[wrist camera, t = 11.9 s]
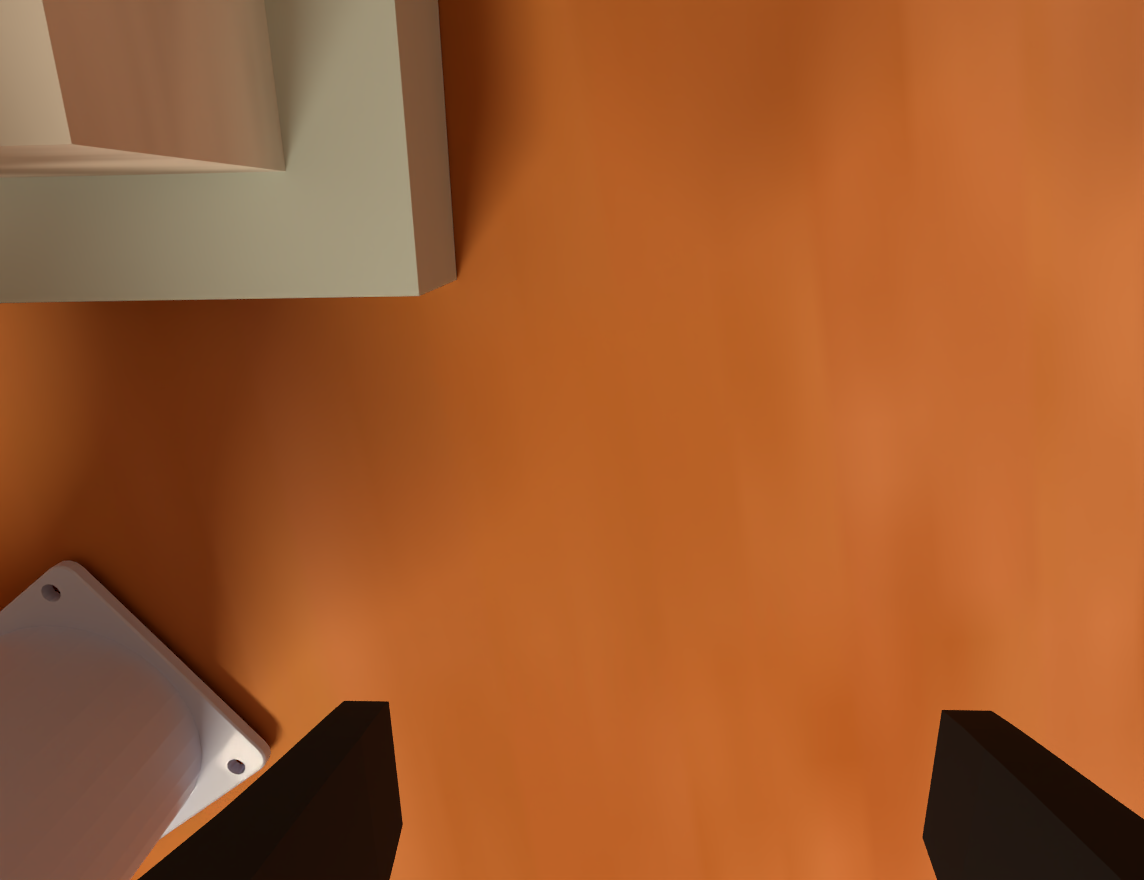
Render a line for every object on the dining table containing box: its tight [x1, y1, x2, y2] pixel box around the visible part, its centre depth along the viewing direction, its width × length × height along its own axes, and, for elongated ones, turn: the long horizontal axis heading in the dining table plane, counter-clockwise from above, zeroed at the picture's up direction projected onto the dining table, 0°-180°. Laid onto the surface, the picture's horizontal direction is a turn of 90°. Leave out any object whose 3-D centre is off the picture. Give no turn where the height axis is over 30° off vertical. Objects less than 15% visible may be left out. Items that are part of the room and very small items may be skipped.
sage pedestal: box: [0, 0, 457, 303], centre depth 14 cm, size 10×10×4 cm
